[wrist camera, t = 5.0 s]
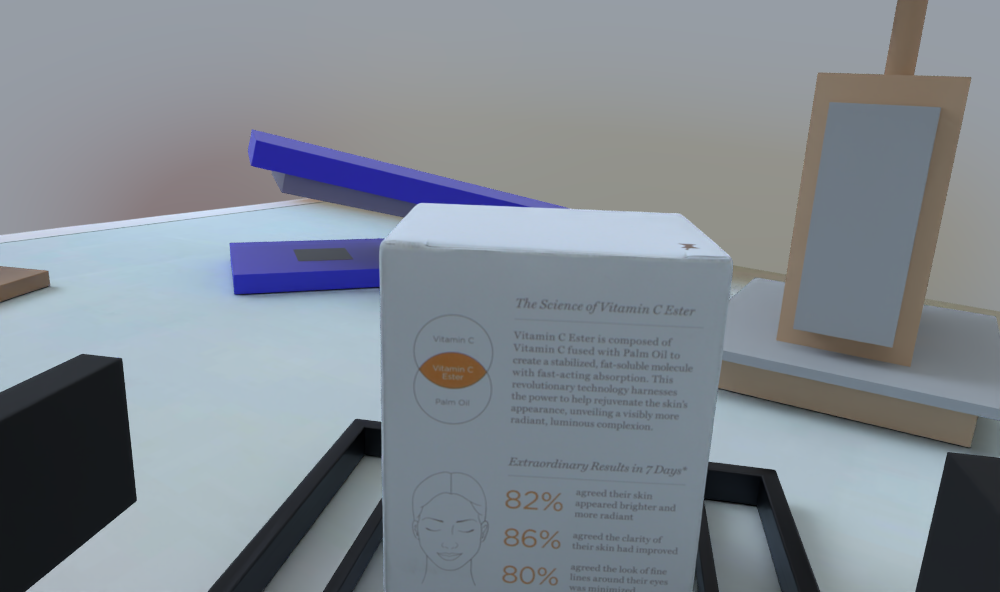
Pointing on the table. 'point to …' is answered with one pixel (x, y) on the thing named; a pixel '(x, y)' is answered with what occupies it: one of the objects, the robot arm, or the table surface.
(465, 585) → the small box
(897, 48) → the desk lamp
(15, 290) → the plate
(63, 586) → the table surface
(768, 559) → the table surface
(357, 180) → the stapler
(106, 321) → the table surface
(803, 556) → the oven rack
